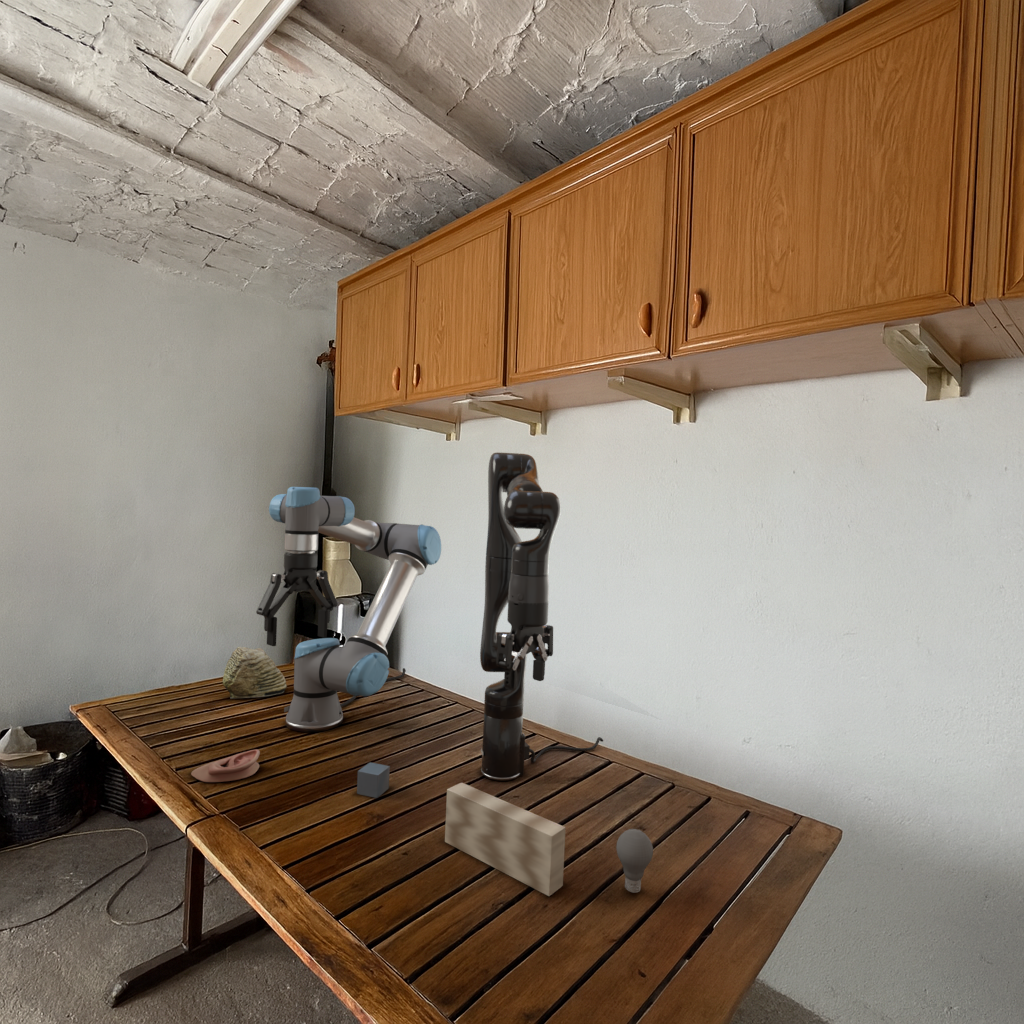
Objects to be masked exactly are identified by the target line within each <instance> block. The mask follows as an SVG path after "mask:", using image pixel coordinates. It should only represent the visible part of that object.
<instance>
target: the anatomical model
mask: <svg viewBox="0 0 1024 1024" xmlns="http://www.w3.org/2000/svg"><path fill="white" fill-rule="evenodd" d="M260 754H261V752H260V749H257V748H256V749H251V750H247V751H243V752H240V753H236V754H234V755H231V756H228V757H225V758H222V759H219V760H216V761H211V762H209V763H206V764H204V765H201V766H198V767H197V768H195V769H193V770H192V771H191V773H190V775H191V776H192V777H193V778H194V779H196V780H198V781H201V782H203V783H221V782H230V781H231V782H233V781H237V780H241V779H246V778H248V777H250V776H253V775H254V774H256V772H257V771H258V770H259V768H260V764H259V762H258V759H259V757H260Z"/></svg>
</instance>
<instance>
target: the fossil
mask: <svg viewBox="0 0 1024 1024" xmlns="http://www.w3.org/2000/svg"><path fill="white" fill-rule="evenodd" d="M222 676H223V677H222V685H223V687H224V688H225V690H226V691H228V693H229V698H230V699H250V698H264V697H271V696H275V695H281V694H284V693H285V691H286V689H287V687H288V686H287V680H286V678H285V676H284V674H283V673H282V672H281V669H279V668H278V667H277V665H276V663H275V662H274V660H273V659H272V658H271V657H270V656H269V655H268V654H267V653H266V652H265V650H264V649H263V648H260V647H258V648H251V647H247V646H246V647H245V646H238V647H237V648H236V649H235V650H233V651H232V653H231V656H230V657H229V659H228V660H227V663H226V666H225V668H224V671H223V675H222Z"/></svg>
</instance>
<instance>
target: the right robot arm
mask: <svg viewBox="0 0 1024 1024" xmlns="http://www.w3.org/2000/svg"><path fill="white" fill-rule="evenodd" d="M487 470H488V472H487V489H488V490H487V493H488V495H487V496H488V497H487V498H488V500H487V501H488V504H487V505H488V508H487V509H488V519H487V520H488V521H487V522H488V524H487V536H486V537H487V538H486V549H485V568H484V570H485V571H484V607H483V608H484V609H483V618H482V619H483V620H482V629H481V637H480V638H481V639H480V651H479V660H480V667H481V669H482V670H483V671H484V672H486V673H504V676H503V677H504V678H503V679H501V680H499V681H496V682H493V683H491V684H489V685H488V686H486V688H485V690H484V702H483V703H484V704H483V724H482V725H483V727H482V747H480V752H481V767H480V774H481V775H482V776H483V777H485V778H486V779H488V780H493V781H499V782H506V781H512V780H515V779H518V778H519V777H522V776H524V774H525V760H530V762H531V763H533V764H534V763H535V762H536V760H537V759H538V758H539V757H540V756H542V755H543V754H544V753H545V752H548V751H552V750H562V751H563V750H566V751H574V752H590V751H593V750H595V749H596V748H597V747H598V745H599V744H600V742H604V739H603V738H602V737H601V736H600V737H597V738H596V740H595V743H594V744H593V745H592V746H590V747H572V746H563V745H553V746H547V747H545V748H543V749H541V750H540V751H539V752H538V753H537V754H536V752H535V750H534V749H532V748H531V747H530V744H528V743H527V742H526V735H525V733H524V732H523V720H524V700H525V699H524V698H525V684H526V670H527V660H528V654H530V653H531V655H532V657H533V661H532V663H533V664H532V679H533V680H534V681H537V682H542V681H544V680H545V674H546V662H547V660H548V657H552V656H553V655H554V626H553V625H550V624H548V622H549V603H550V602H549V600H550V582H549V570H550V553H551V547H552V542H553V539H554V535H555V532H556V530H557V527H558V524H559V520H560V517H561V513H562V502H561V500H560V498H559V497H558V495H557V494H556V493H554V492H551V491H543V489H542V487H541V485H540V483H539V481H540V480H539V472H538V465H537V462H536V460H535V458H534V456H532V455H530V454H527V453H519V452H518V453H517V452H493V453H492V454H491V455H490V458H489V462H488V468H487ZM503 493H506V498H505V502H504V501H503V495H502V494H503ZM516 529H521V530H522V529H523V530H524V529H525V530H539V532H538V534H537V536H535V537H534V538H532V539H530V540H529V539H528V540H523V541H522V539H521V536H520V535H519V534H518V532H517V530H516ZM506 607H507V623H509V624H510V626H511V628H510V631H497V629H498V625H499V621H500V619H501V616H502V613H503V612H504V610H505V609H506ZM546 645H547V648H546ZM530 753H531V757H530Z"/></svg>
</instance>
